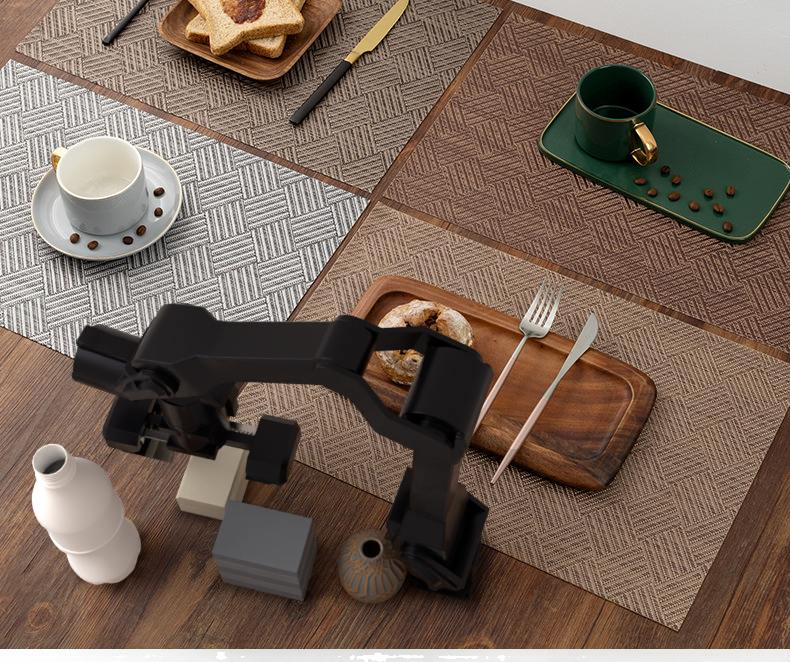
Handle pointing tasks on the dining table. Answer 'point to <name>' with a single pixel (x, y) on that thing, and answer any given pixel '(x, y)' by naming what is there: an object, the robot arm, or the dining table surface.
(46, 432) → the dining table surface
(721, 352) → the dining table surface
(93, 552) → the water bottle
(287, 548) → the grey stack
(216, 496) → the beige flat block
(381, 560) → the vase
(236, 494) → the beige rectangular block
